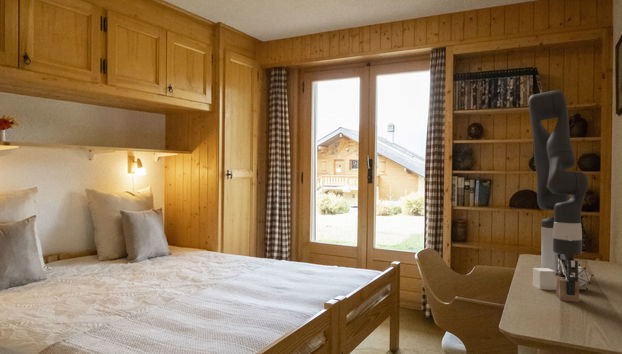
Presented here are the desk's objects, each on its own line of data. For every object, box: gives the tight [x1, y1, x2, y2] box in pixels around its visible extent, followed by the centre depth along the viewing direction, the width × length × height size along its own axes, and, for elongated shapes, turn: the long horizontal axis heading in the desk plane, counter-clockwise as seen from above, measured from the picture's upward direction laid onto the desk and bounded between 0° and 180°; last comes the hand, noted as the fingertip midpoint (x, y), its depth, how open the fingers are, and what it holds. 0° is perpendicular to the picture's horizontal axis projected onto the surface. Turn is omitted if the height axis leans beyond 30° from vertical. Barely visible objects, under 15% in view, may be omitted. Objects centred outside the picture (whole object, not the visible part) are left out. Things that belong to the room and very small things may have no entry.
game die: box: [570, 263, 595, 291], centre depth 142 cm, size 9×8×10 cm
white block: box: [532, 267, 557, 291], centre depth 144 cm, size 5×5×6 cm
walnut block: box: [555, 276, 580, 303], centre depth 130 cm, size 5×5×6 cm
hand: (567, 291), depth 130 cm, fingers open, 8 cm apart
